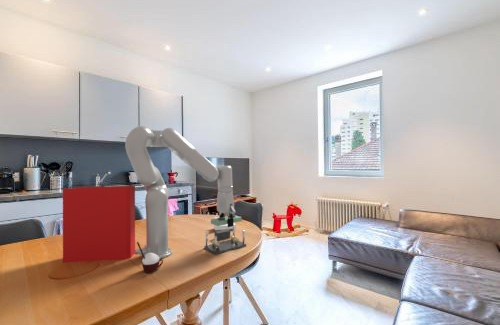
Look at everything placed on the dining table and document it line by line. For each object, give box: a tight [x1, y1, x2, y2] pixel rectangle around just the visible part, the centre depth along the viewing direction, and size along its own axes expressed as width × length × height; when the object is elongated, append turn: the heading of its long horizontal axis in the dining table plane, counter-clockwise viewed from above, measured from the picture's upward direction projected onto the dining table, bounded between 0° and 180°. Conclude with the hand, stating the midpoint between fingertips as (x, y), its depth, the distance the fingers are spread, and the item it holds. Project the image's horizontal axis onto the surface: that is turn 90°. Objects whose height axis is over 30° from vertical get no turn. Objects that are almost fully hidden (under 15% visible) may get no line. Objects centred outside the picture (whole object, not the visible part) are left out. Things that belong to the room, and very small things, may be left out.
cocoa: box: [136, 241, 164, 274], centre depth 92 cm, size 10×6×12 cm, turn 101°
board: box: [210, 214, 243, 226], centre depth 117 cm, size 14×7×3 cm, turn 128°
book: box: [62, 185, 136, 263], centre depth 105 cm, size 27×8×32 cm, turn 97°
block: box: [214, 229, 231, 242], centre depth 131 cm, size 8×4×4 cm, turn 128°
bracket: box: [213, 216, 236, 231], centre depth 149 cm, size 13×7×8 cm, turn 102°
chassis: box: [203, 226, 247, 255], centre depth 117 cm, size 18×11×8 cm, turn 128°
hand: (226, 224), depth 117 cm, fingers closed on board, 7 cm apart
